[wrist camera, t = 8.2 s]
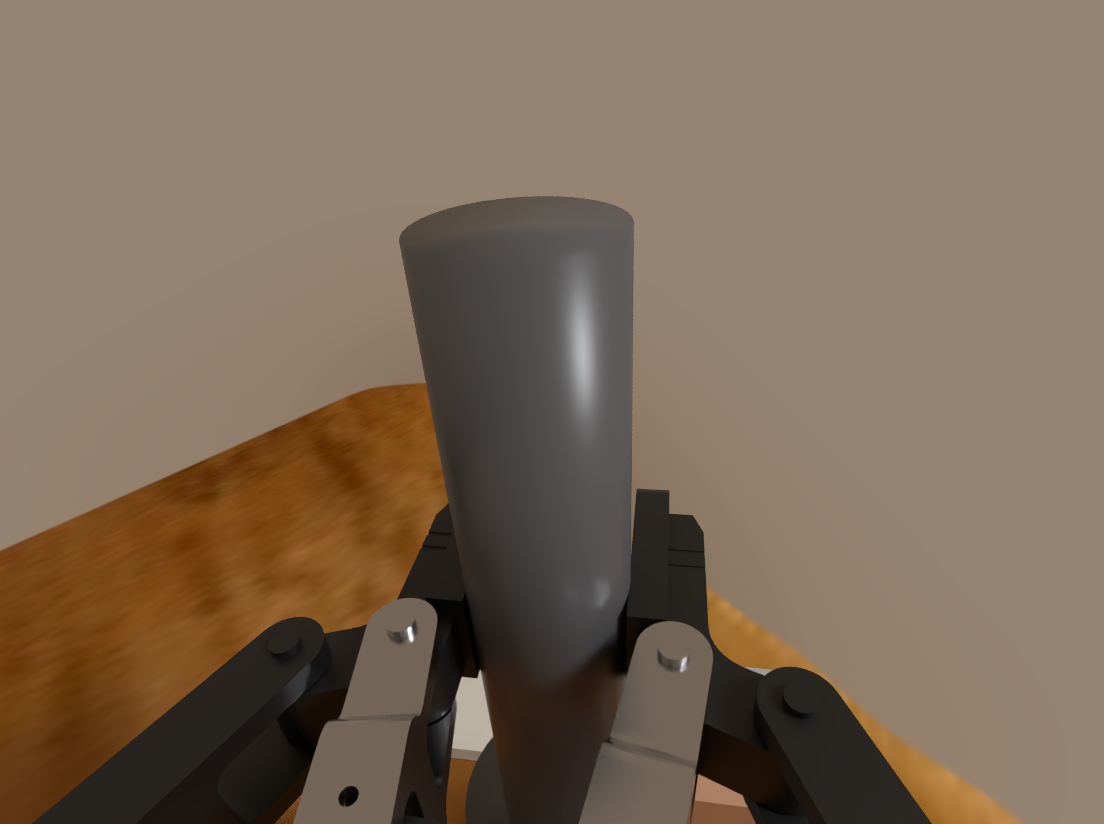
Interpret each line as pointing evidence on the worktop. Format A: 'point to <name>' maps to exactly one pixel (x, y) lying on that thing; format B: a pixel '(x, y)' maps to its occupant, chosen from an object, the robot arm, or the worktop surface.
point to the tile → (719, 805)
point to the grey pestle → (534, 475)
